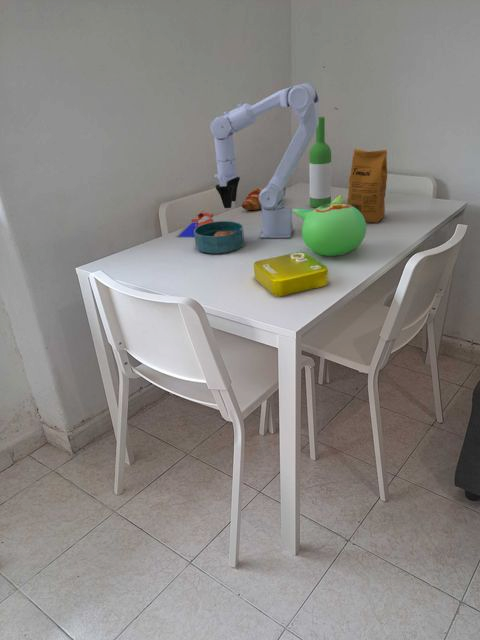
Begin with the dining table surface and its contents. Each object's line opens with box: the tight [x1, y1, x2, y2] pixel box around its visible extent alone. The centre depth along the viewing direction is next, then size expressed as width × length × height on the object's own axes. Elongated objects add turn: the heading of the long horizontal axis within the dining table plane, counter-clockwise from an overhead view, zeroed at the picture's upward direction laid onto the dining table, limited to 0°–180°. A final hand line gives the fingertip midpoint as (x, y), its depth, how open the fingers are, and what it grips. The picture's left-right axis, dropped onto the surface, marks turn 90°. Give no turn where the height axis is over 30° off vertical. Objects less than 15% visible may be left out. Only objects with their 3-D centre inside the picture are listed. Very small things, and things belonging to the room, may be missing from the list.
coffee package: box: [346, 148, 388, 224], centre depth 161 cm, size 10×12×22 cm
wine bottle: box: [308, 116, 332, 209], centre depth 175 cm, size 8×8×30 cm
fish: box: [177, 210, 214, 238], centre depth 166 cm, size 13×5×9 cm
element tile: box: [253, 251, 329, 297], centre depth 125 cm, size 15×15×5 cm
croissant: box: [241, 188, 264, 211], centre depth 187 cm, size 21×10×8 cm, turn 141°
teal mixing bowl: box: [194, 220, 245, 255], centre depth 151 cm, size 15×15×6 cm
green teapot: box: [292, 194, 367, 257], centre depth 137 cm, size 18×17×15 cm
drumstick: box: [214, 231, 235, 236], centre depth 151 cm, size 12×4×4 cm, turn 81°
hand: (230, 204), depth 157 cm, fingers open, 7 cm apart
